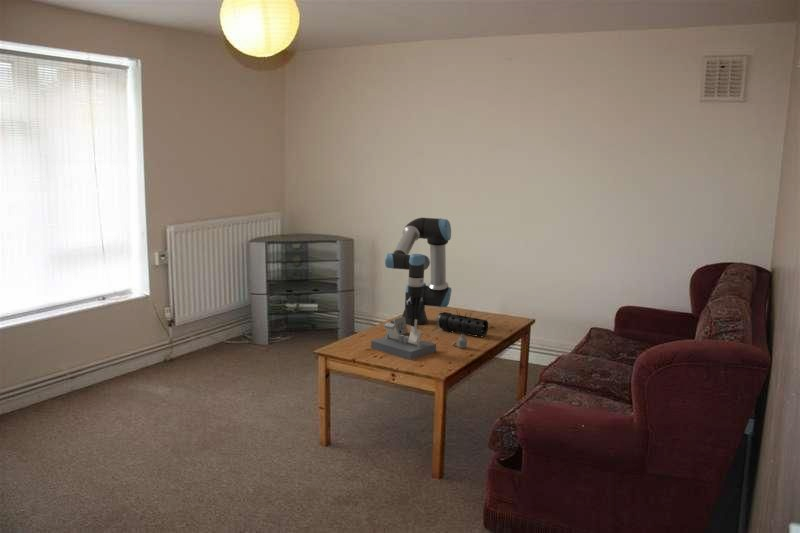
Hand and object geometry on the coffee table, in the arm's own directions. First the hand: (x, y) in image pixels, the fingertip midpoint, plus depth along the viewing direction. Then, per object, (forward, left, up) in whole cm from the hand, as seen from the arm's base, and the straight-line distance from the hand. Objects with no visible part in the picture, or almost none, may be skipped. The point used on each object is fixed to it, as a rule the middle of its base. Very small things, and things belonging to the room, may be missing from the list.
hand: (413, 332), depth 331 cm
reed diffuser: (-24, +12, -11) cm, 29 cm away
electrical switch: (-21, -27, -11) cm, 36 cm away
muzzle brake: (-48, -4, -11) cm, 49 cm away
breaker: (0, -12, -5) cm, 13 cm away
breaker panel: (0, -6, -11) cm, 12 cm away
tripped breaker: (0, 0, -5) cm, 5 cm away
